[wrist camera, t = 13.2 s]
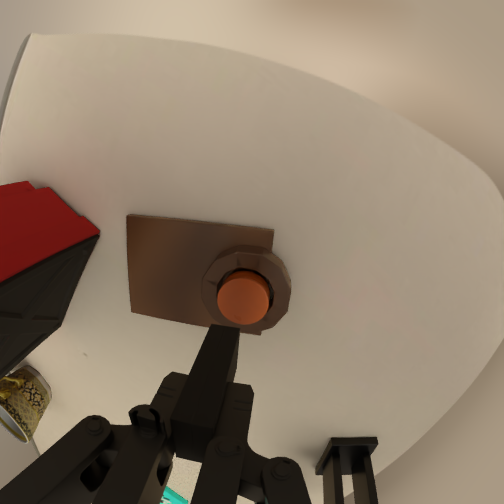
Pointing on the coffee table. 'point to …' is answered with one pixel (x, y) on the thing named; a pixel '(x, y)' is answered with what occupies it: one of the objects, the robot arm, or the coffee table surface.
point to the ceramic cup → (23, 402)
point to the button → (244, 297)
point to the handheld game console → (172, 497)
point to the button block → (199, 269)
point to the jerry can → (37, 266)
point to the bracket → (348, 469)
